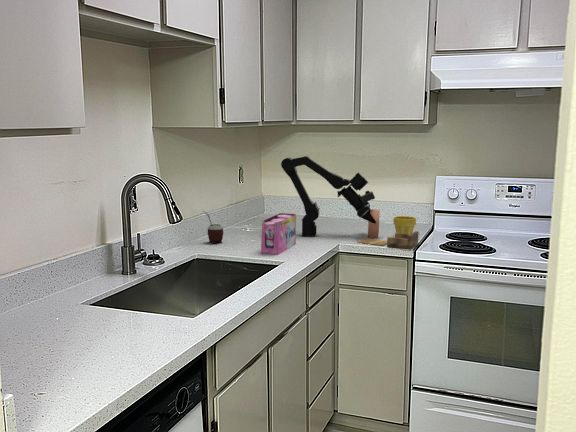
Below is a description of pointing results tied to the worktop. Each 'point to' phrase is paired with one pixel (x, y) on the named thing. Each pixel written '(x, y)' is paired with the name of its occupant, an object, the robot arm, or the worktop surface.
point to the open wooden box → (403, 241)
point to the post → (374, 228)
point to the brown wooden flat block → (373, 242)
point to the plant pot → (404, 224)
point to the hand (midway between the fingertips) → (375, 221)
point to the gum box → (278, 233)
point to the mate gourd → (214, 232)
